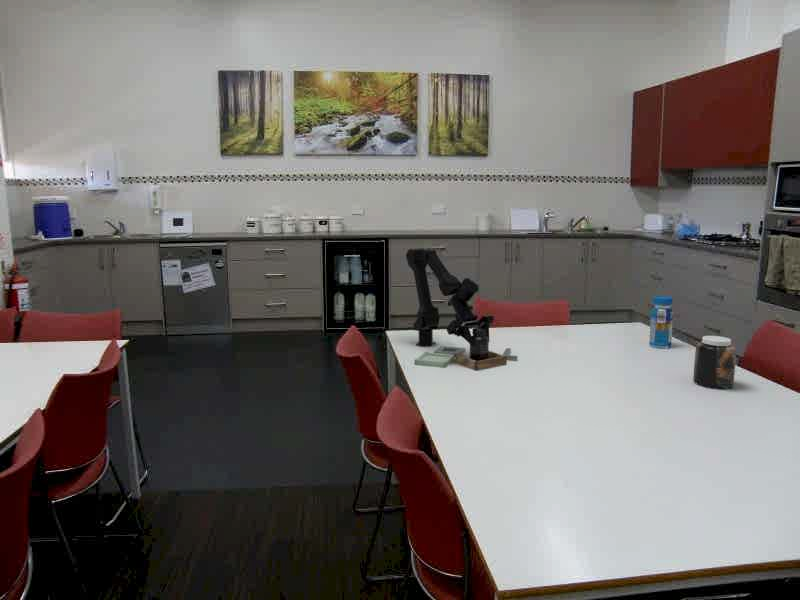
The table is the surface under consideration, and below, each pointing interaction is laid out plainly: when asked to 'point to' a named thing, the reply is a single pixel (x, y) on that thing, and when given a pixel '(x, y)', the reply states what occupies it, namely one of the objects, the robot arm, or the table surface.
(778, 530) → the table surface
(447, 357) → the tray
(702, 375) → the jar
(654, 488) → the table surface
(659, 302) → the beverage bottle
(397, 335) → the table surface
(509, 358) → the crook tool
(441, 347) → the hole plate
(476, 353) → the supplement bottle
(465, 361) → the u-shaped bracket
